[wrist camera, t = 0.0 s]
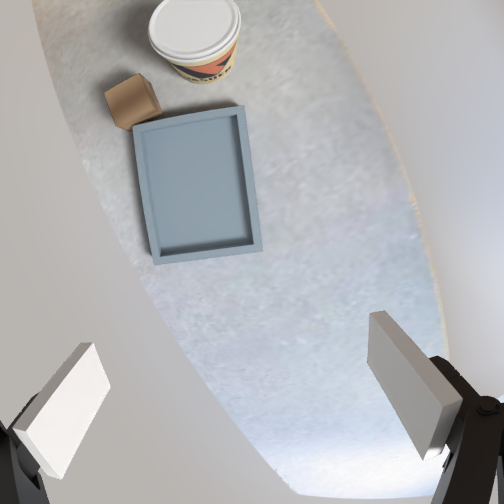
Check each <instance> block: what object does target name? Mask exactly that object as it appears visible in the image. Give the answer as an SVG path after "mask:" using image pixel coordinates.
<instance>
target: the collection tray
mask: <svg viewBox="0 0 504 504" xmlns="http://www.w3.org/2000/svg"><path fill="white" fill-rule="evenodd" d="M132 127H133V136H134V145H135V154H136V162H137V169H138V176H139V183H140V190H141V197H142V203H143V209H144V215H145V221H146V226H147V232H148V237H149V242H150V247H151V252H152V257H153V262H154V265H161V264H168V263H176V262H184V261H192V260H200V259H207V258H215V257H223V256H231V255H239V254H246V253H254V252H262V251H263V247H262V239H261V231H260V223H259V215H258V207H257V199H256V191H255V184H254V176H253V168H252V160H251V153H250V145H249V138H248V130H247V123H246V115H245V108H244V106H236V107H229V108H222V109H215V110H209V111H203V112H197V113H191V114H186V115H180V116H175V117H170V118H166V119H161V120H156V121H152V122H148V123H143V124H139V125H135V126H132Z"/></svg>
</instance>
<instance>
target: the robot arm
mask: <svg viewBox="0 0 504 504" xmlns="http://www.w3.org/2000/svg"><path fill="white" fill-rule="evenodd" d="M367 363H368V365H369V367H370V368H371V370H372V372H373V373H374V375H375V377H376V378H377V380H378V382H379V384H380V385H381V387H382V389H383V390H384V392H385V394H386V396H387V397H388V399H389V401H390V403H391V404H392V406H393V408H394V410H395V411H396V413H397V415H398V417H399V418H400V420H401V422H402V424H403V426H404V427H405V429H406V431H407V433H408V435H409V436H410V438H411V440H412V442H413V444H414V446H415V447H416V449H417V451H418V453H419V455H420V457H421V458H422V460H423V461H424V460H427V459H429V458H432V457H434V456H437V455H439V454H441V453H442V451H443V449H444V446H445V444H447V446H448V447H449V449H450V452H449V454H448V456H447V459H446V461H445V463H444V465H443V466H442V467H443V468H444V469H443V472H442V475H441V478H440V481H439V484H438V486H437V489H436V492H435V494H434V497H433V499H432V502H431V504H489V501H490V497H491V493H492V488H493V484H494V479H495V474H496V468H497V477H498V478H497V479H498V503H499V504H504V403H500V401H499V400H497V399H495V398H494V397H490V396H480V395H479V394H478V393H477V392H476V391H475V390H474V389H473V388H472V386H471V385H470V384H469V383H468V382H467V381H466V380H465V379H464V378H463V377H462V376H460V373H459V372H458V371H457V370H455V368H454V367H453V366H452V365H451V364H450V363H449V362H448V361H447V360H445V359H443V358H441V357H439V356H434V357H431V358H428V357H427V356H426V355H425V354H424V353H423V352H422V351H421V349H420V348H419V347H418V346H417V345H416V344H415V343H414V342H413V341H412V339H411V338H410V337H409V336H408V335H407V334H406V333H405V332H404V331H403V330H402V328H401V327H400V326H399V325H398V324H397V323H396V322H395V321H394V320H393V319H392V318H391V317H390V316H389V314H388V313H387V312H386V311H385V310H384V311H379V312H374V313H370V315H369V340H368V357H367ZM110 387H111V386H110V384H109V382H108V379H107V377H106V374H105V372H104V369H103V367H102V364H101V362H100V359H99V357H98V354H97V351H96V349H95V346H94V343H80V344H79V346H78V347H77V348H76V349H75V350H74V352H73V353H72V354H71V355H70V356H69V357H68V359H67V360H66V361H65V362H64V363H63V364H62V366H61V367H60V368H59V369H58V370H57V372H56V373H55V374H54V375H53V376H52V378H51V379H50V380H49V381H48V383H47V384H46V385H45V386H44V387H43V389H42V390H41V391H40V392H39V393H37V394H36V395H35V396H33V397H32V398H31V399H30V400H29V402H28V403H27V404H26V406H25V407H24V408H23V409H22V412H20V413H19V415H18V416H17V417H16V418H15V419H14V421H13V422H12V423H11V425H10V426H9V427H8V429H7V430H6V428H5V427H4V425H3V424H2V422H1V421H0V504H50V503H49V500H48V497H47V494H46V491H45V487H44V484H43V480H42V477H41V475H40V474H39V472H38V470H39V468H40V467H41V468H42V469H43V470H44V471H45V473H46V474H47V475H48V476H51V477H55V478H58V479H62V478H63V476H64V474H65V472H66V470H67V468H68V466H69V464H70V462H71V460H72V458H73V456H74V454H75V452H76V450H77V448H78V446H79V444H80V442H81V441H82V439H83V437H84V435H85V433H86V431H87V429H88V427H89V425H90V424H91V422H92V420H93V418H94V416H95V414H96V413H97V411H98V409H99V407H100V405H101V403H102V402H103V400H104V398H105V396H106V394H107V393H108V391H109V389H110Z"/></svg>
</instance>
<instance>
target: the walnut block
mask: <svg viewBox="0 0 504 504" xmlns="http://www.w3.org/2000/svg"><path fill="white" fill-rule="evenodd" d="M104 95H105V98H106V100H107V103H108V106H109V109H110V112H111V115H112V117H113V120H114V123H115V125H116V127H119V128H122V129H125V130H128V131H131V130H133V127H132V126H135V125H139V124H143V123H146V122H148V121H150V120H152V119H154V118H156V117H158V116H160V115H162V114H163V112H162V110H161V107H160V105H159V103H158V100H157V98H156V95H155V93H154V90H153V88H152V85H151V83H150V82H149V81H148V80H147V79H146V78H144V77H143V76H142V75H141V74H140V73H138V74H136V75H134V76H133V77H131V78H129V79H127V80H125V81H123V82H122V83H120V84H118V85H116V86H115V87H113V88H111V89H109V90H108V91H106V92H104Z"/></svg>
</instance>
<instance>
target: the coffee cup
mask: <svg viewBox="0 0 504 504" xmlns="http://www.w3.org/2000/svg"><path fill="white" fill-rule="evenodd" d="M240 26H241V15H240V12H239V9H238V7H237V5H236V4H235V2H234V1H233V0H164V1H162V2H161V3H160V4H159V5H158V6H157V8H156V9H155V10H154V12H153V14H152V16H151V18H150V21H149V25H148V38H149V41H150V43H151V45H152V47H153V48H154V50H155V51H156V52H157V53H158V54H160V55H161V56H162V57H164V58H165V59H166V60H167V61H168V62H169V63H170V64H171V65H172V66H173V67H174V68H175V69H176V70H177V71H178V72H179V73H180V74H181V75H182V76H183V77H184V78H186V79H187V80H188V81H190V82H193V83H196V84H212V83H215V82H218V81H220V80H222V79H223V78H225V77H226V76H227V75H228V74H229V73H230V72H231V70H232V69H233V66H234V64H235V60H236V53H237V45H238V35H239V30H240Z"/></svg>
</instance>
